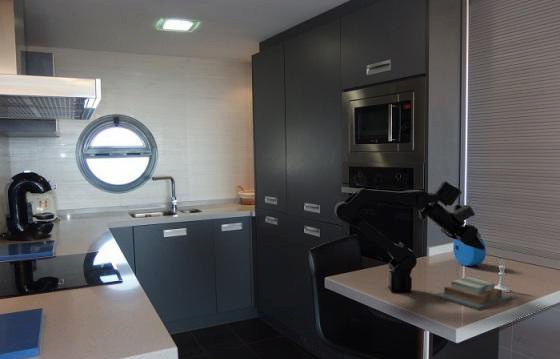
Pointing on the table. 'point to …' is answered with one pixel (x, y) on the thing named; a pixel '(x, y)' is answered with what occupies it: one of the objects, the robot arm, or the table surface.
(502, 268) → the chess piece
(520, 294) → the table surface
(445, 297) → the baseplate
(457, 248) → the alarm clock
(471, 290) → the stacked blocks
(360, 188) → the robot arm
